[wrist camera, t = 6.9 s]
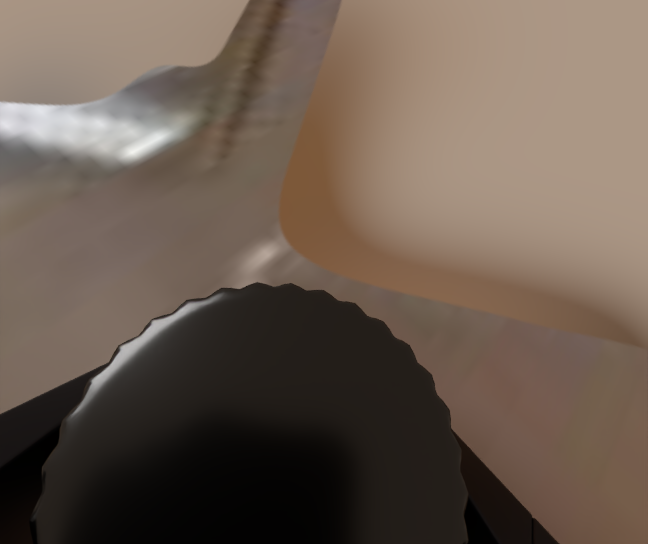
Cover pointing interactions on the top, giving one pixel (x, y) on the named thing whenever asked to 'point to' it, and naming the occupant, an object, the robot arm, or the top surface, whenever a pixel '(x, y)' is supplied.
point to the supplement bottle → (257, 433)
